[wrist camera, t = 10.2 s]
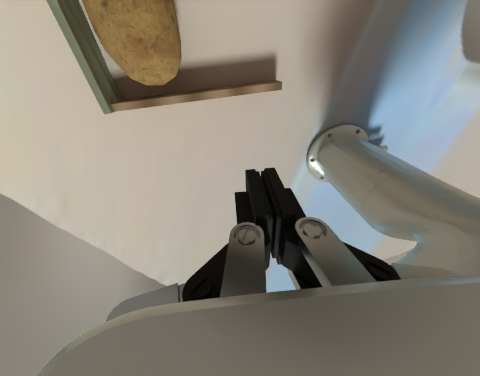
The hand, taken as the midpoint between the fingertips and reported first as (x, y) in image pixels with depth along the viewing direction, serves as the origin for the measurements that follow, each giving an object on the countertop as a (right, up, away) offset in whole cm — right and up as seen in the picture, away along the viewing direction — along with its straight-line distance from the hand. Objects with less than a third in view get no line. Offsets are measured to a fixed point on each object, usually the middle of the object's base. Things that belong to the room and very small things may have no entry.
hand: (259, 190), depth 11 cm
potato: (-14, +22, +13) cm, 29 cm away
